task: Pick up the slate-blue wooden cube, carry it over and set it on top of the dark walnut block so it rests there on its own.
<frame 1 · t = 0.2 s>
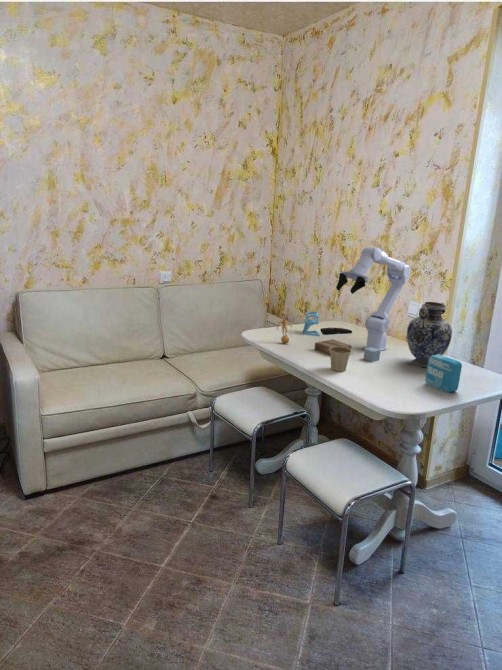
hand: (344, 290, 209), 31 cm above the table, tool tilted 45°, fingers open, 7 cm apart
decorative vase: (424, 364, 216), on the table
slate cube: (371, 359, 218), on the table
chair: (310, 334, 257), on the table
data package: (440, 388, 188), on the table
walnut base block: (332, 352, 228), on the table
figurine: (283, 343, 237), on the table
flower pot: (338, 369, 203), on the table
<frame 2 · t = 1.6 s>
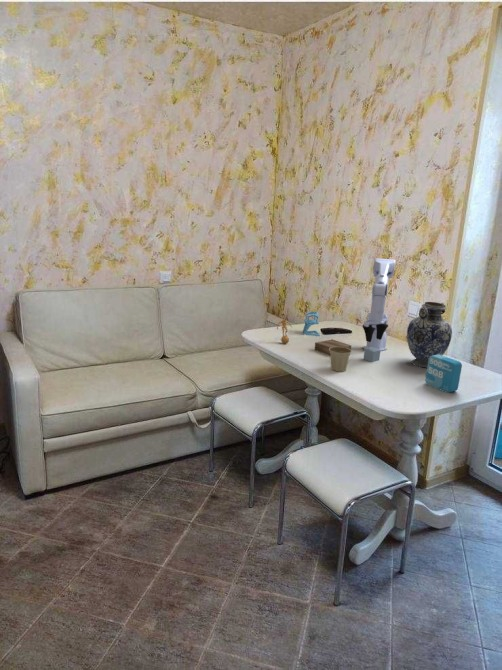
hand: (373, 340, 216), 9 cm above the table, tool pointing down, fingers open, 7 cm apart
nothing on the table moved.
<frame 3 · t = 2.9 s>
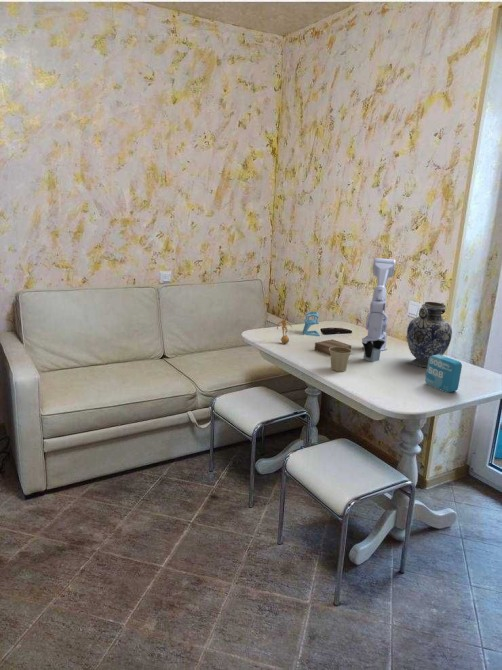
hand: (371, 356, 218), 2 cm above the table, tool pointing down, fingers closed on slate cube, 5 cm apart
slate cube: (371, 359, 218), on the table, touching gripper
everything else where it was.
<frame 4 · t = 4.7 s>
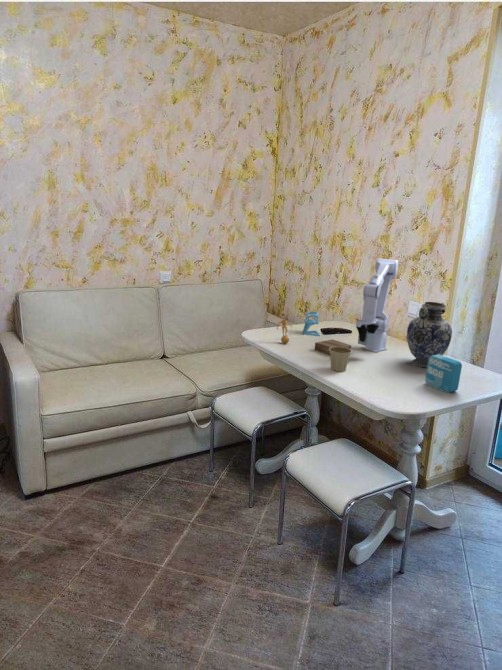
hand: (365, 340, 218), 8 cm above the table, tool pointing down, fingers closed on slate cube, 5 cm apart
slate cube: (365, 344, 218), point 7 cm above the table, touching gripper
everything else where it was.
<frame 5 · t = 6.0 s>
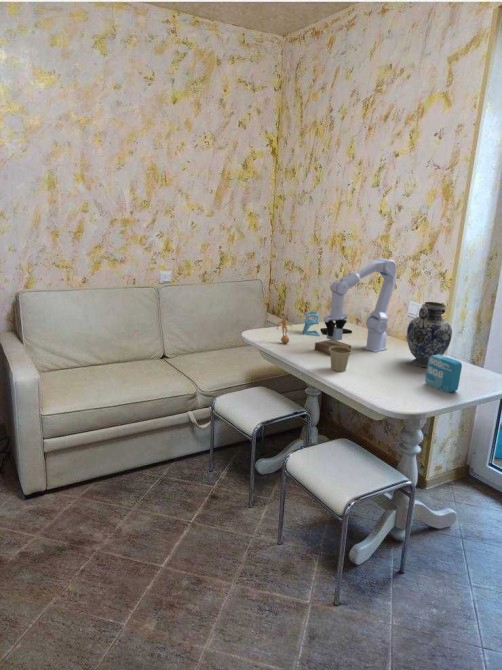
hand: (334, 335, 226), 8 cm above the table, tool pointing down, fingers closed on slate cube, 5 cm apart
slate cube: (334, 339, 226), point 6 cm above the table, touching gripper
everything else where it was.
when the fingers open (6 cm above the table, at t = 6.8 s): slate cube drops 1 cm, resting on walnut base block.
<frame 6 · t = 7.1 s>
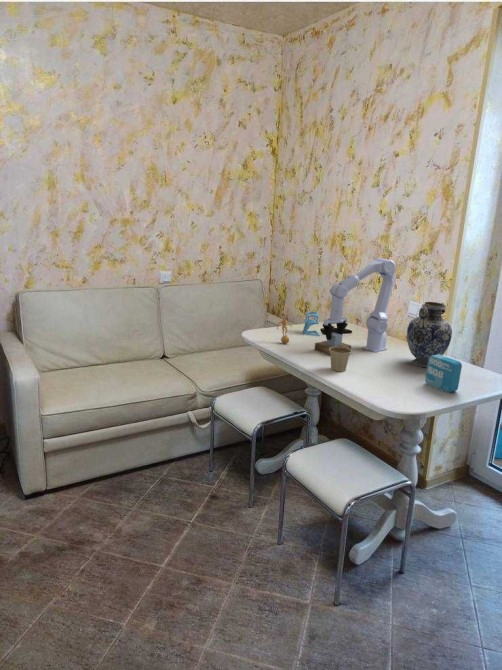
hand: (333, 338, 226), 6 cm above the table, tool pointing down, fingers open, 7 cm apart
slate cube: (333, 344, 227), point 3 cm above the table, touching walnut base block
walnut base block: (332, 352, 228), on the table, touching slate cube
everything else where it was.
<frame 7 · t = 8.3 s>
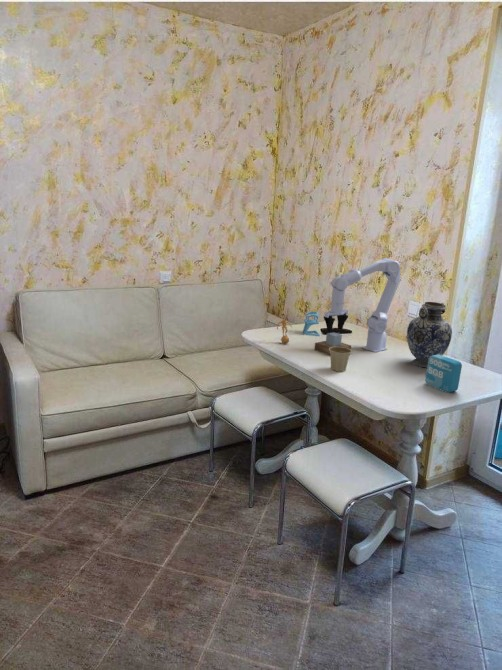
hand: (334, 330, 229), 9 cm above the table, tool pointing down, fingers open, 7 cm apart
nothing on the table moved.
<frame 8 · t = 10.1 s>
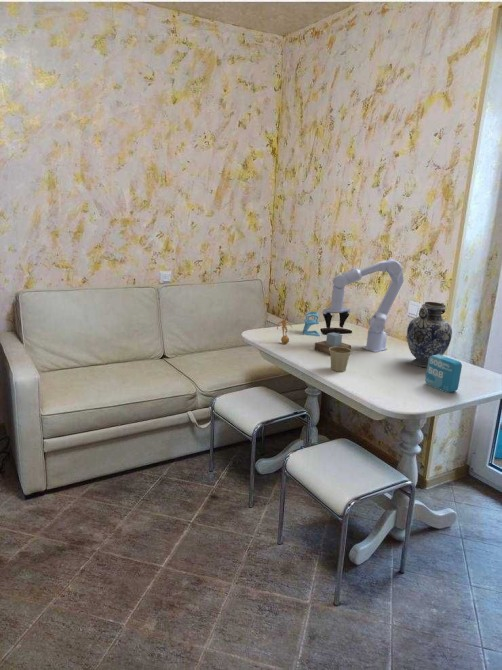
hand: (334, 327, 234), 9 cm above the table, tool pointing down, fingers open, 7 cm apart
nothing on the table moved.
at the end: slate cube touching walnut base block; slate cube tilted 0° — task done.
